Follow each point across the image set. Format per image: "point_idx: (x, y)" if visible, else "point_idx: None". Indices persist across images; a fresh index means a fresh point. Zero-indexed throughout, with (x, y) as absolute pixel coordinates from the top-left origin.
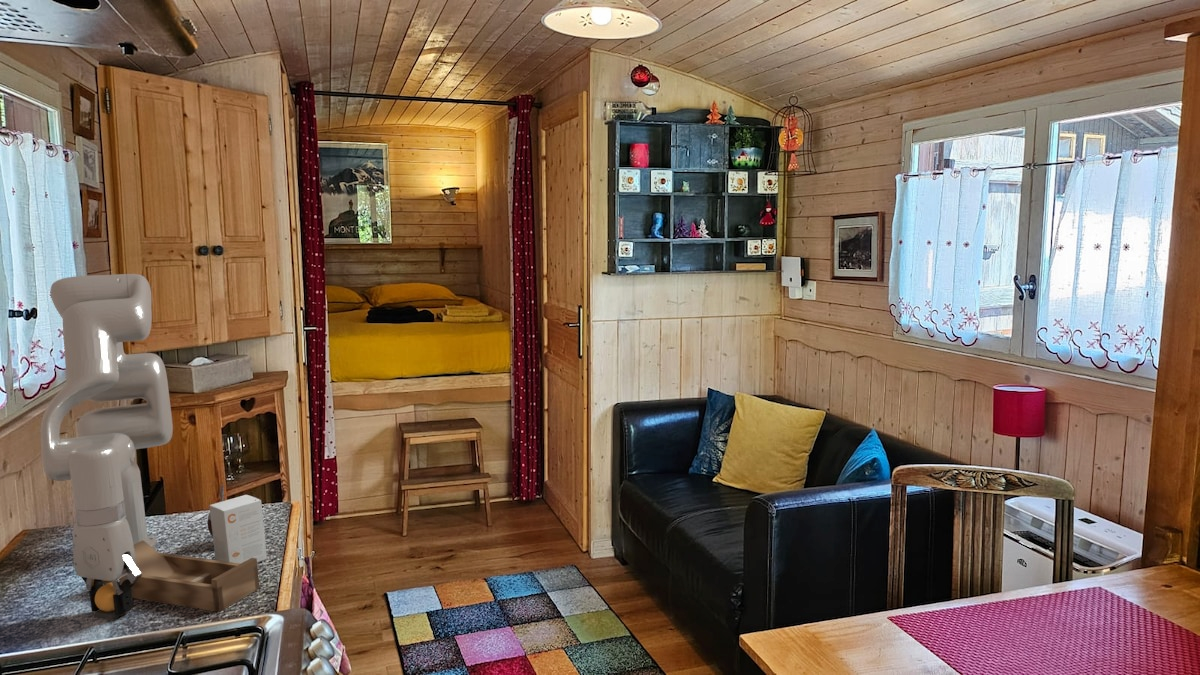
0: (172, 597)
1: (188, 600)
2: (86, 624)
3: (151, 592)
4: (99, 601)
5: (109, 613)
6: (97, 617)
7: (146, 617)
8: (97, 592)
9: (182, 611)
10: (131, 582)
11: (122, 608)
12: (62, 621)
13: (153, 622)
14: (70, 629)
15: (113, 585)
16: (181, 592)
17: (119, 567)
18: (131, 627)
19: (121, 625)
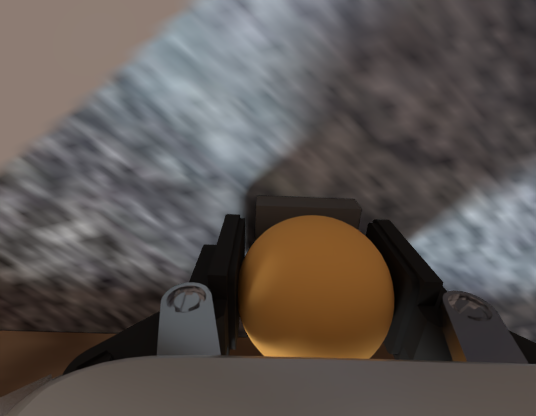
0: None
1: (50, 354)
2: (344, 143)
3: None
4: (313, 229)
5: (279, 217)
6: (339, 200)
7: (141, 248)
8: (362, 277)
9: (59, 307)
10: (33, 384)
11: (214, 245)
12: (487, 138)
13: (71, 224)
14: (385, 81)
15: (215, 335)
16: None
17: None
18: (114, 169)
19: (175, 173)
